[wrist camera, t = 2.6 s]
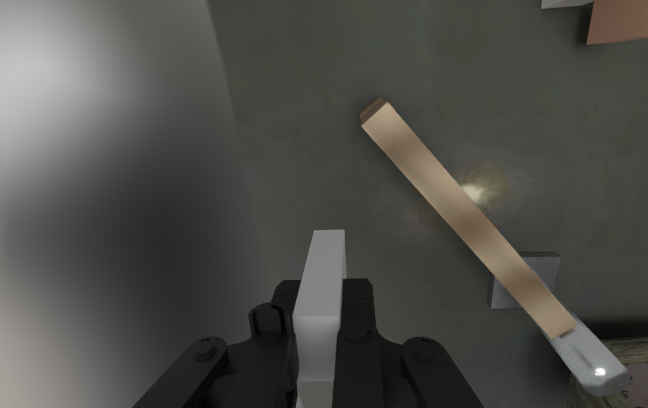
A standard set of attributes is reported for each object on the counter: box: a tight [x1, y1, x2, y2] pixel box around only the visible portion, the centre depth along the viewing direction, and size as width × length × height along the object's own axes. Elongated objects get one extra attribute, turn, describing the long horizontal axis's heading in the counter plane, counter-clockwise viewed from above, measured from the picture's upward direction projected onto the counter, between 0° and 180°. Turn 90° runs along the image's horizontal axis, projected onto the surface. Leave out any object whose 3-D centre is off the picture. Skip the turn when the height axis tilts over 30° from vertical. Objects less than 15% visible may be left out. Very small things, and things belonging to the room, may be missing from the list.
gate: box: [360, 96, 578, 339], centre depth 28 cm, size 22×2×8 cm, turn 44°
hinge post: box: [488, 252, 630, 396], centre depth 30 cm, size 6×6×13 cm
